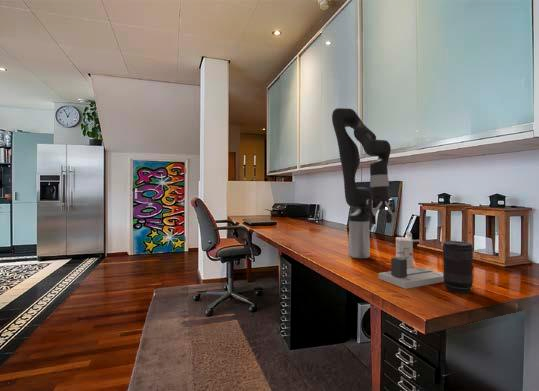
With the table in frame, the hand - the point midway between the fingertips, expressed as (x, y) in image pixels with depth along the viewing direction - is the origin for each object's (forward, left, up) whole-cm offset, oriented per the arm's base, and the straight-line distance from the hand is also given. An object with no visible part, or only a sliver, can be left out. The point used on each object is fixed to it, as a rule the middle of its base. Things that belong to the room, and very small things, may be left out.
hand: (381, 223), depth 125 cm
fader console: (+21, -5, -18) cm, 28 cm away
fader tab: (+21, -12, -15) cm, 29 cm away
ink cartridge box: (+7, +5, -18) cm, 20 cm away
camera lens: (+35, -1, -18) cm, 39 cm away
